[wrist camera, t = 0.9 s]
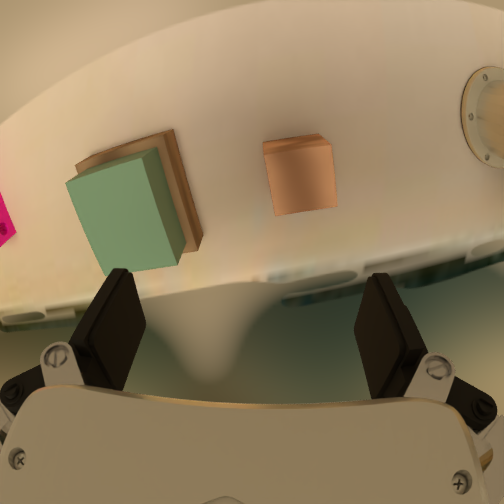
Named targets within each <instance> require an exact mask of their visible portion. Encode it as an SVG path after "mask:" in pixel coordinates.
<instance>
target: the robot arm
mask: <svg viewBox="0 0 504 504" xmlns="http://www.w3.org/2000/svg"><path fill="white" fill-rule="evenodd" d="M462 124H463V130H464V133H465V137H466V140H467V142H468V144H469V147H470V148H471V150H472V151H473V153H474V154H475V155H476V157H477V158H478V159H479V160H481V161H482V162H484V163H485V164H487V165H489V166H491V167H494V168H504V69H502V68H499V67H485V68H482V69H480V70H478V71H477V72H476V73H475V74H473V76H472V77H471V78H470V80H469V82H468V84H467V86H466V88H465V91H464V95H463V100H462ZM145 328H146V320H145V317H144V313H143V310H142V307H141V304H140V300H139V296H138V293H137V289H136V285H135V281H134V278H133V274H132V273H131V272H129V271H128V269H126V268H113V269H112V271H111V272H110V274H109V275H108V277H107V278H106V280H105V282H104V283H103V285H102V286H101V288H100V289H99V291H98V293H97V294H96V296H95V297H94V299H93V301H92V302H91V304H90V306H89V307H88V309H87V311H86V312H85V314H84V316H83V317H82V319H81V321H80V323H79V324H78V326H77V328H76V329H75V331H74V333H73V335H72V337H71V339H70V341H69V343H65V342H56V343H53V344H51V345H49V346H48V347H47V348H46V349H45V350H44V351H43V353H42V354H41V358H40V363H41V364H40V365H38V366H36V367H34V368H32V369H30V370H28V371H26V372H24V373H22V374H20V375H18V376H16V377H14V378H12V379H10V380H8V381H7V382H6V383H5V384H4V385H3V386H2V388H1V390H0V504H499V502H500V501H501V499H502V498H503V497H504V416H503V415H501V416H500V417H499V416H498V415H497V406H496V403H495V401H494V400H493V398H492V397H491V396H489V395H488V394H486V393H484V392H483V391H481V390H479V389H477V388H475V387H474V386H472V385H470V384H468V383H466V382H465V381H463V380H461V379H459V378H458V377H456V376H455V366H454V364H453V363H452V361H451V360H450V359H449V358H448V357H447V356H446V355H444V354H441V353H438V352H431V353H428V350H427V348H426V346H425V344H424V342H423V339H422V337H421V335H420V333H419V331H418V329H417V326H416V324H415V322H414V320H413V318H412V316H411V314H410V312H409V310H408V308H407V307H406V306H405V305H404V304H403V302H402V300H401V298H400V296H399V294H398V292H397V290H396V288H395V286H394V284H393V282H392V280H391V278H390V277H389V275H388V273H373V275H372V277H368V279H367V283H366V287H365V290H364V294H363V298H362V302H361V305H360V308H359V312H358V315H357V319H356V322H355V326H354V334H355V337H356V341H357V345H358V348H359V352H360V356H361V359H362V363H363V367H364V371H365V375H366V379H367V382H368V387H369V391H370V395H371V398H372V399H371V400H360V401H347V402H333V403H332V402H331V403H312V404H240V403H220V402H206V401H194V400H184V399H174V398H166V397H158V396H150V395H144V394H137V393H130V392H124V391H122V390H123V388H124V385H125V382H126V380H127V377H128V373H129V371H130V368H131V365H132V363H133V360H134V357H135V355H136V352H137V349H138V346H139V344H140V341H141V339H142V336H143V333H144V330H145Z"/></svg>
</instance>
